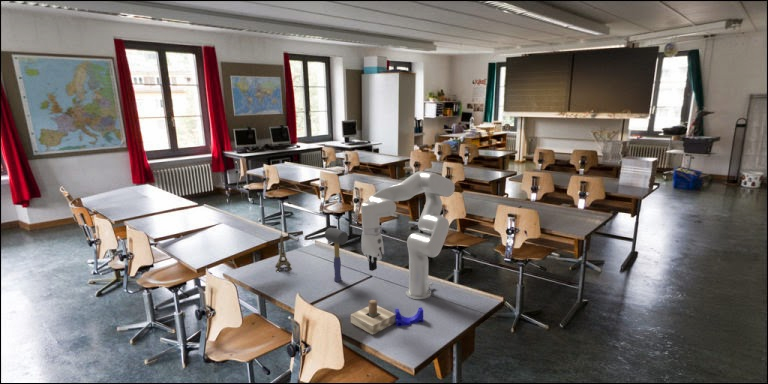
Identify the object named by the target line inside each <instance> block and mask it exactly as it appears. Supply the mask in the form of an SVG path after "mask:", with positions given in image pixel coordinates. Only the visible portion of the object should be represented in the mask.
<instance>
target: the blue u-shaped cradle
mask: <svg viewBox="0 0 768 384" xmlns="http://www.w3.org/2000/svg"><path fill="white" fill-rule="evenodd" d="M394 314H396V323H395V325H396V327H404V326H405V327H406V326H411V324H417V323H424V309H423V307H418V310H417V313H416V314H415V315H413V316H411V317H409V316H408V317H405V316H403V315H402V314H401V313H400V309H399V308H394ZM420 321H421V322H420Z"/></svg>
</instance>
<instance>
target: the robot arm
mask: <svg viewBox="0 0 768 384" xmlns="http://www.w3.org/2000/svg"><path fill="white" fill-rule="evenodd" d="M455 189H456V186H455V183H454V182H453V181H452V180H451V179H449V178H448V177H445V176H443V175H440V174H437V173H436V172H431V171H425V170H424V171H423V170H418V171H415V172H414V173H412V174H411V175H409V176H408V177H407V178H406V179H404V180H403V181H401V182H400V183H396V184H394V185H391V186H387V187H385V188H382V189H380V190H378V191H377V192H375V193H373V194H372V195H371V196H370V197H369V198H368V199H367V201H365V202H362V204H361V205H360V211H361V212H360V213H361V230H362V232H361V239H360V240H361V243H360V245H361V252H362V254H363V255H364V256H365V257H366V259H367V261H368V269H369V271H371V272H374V271H376V270H377V268H378V266H377V265H378V264H377V261H380V260H383V258H382V256H383V255H384V253H385V249H384V248H385V247H384V242H383V241H384V240H383V235H382V233H381V230H380V228H381V226H380V218H387V217H390V216H391V217H392V215H394V214H395V213H396V211H397V204H396V203H395V202H400V201H401V202H402V201H407V200H410V199H412V198H413V197H414V196H416V195H417V194H418V193H420V192H421V191H424V195H425V205H424V206H423V209H422V212H421V215H420V217H419V219H418V221H417V222H418V223H417V227H418V230H420V231H422V232H424V233H421V232H413V233H411V234H410V235H409V236H408V237H407V240H406V246H407V251H408V274H409V275H408V288H407V289H406V291H405V295H406V297H408V298H410V299H413V300H425V299H429V298H430V297H431V296H432V291H431V290H430V288H431V287H434V282H433V281H432V282H429V258H435V257H437V256H438V255H439V254H440V253H441V251H442V248H443V246H444V244H445V241H446V238H447V236H448V234H449V231H450V222H449V220H448V218H447V217H445V216H442V215H441V213H442V209H443V201H442V199H441V197H443V198H449V197H451V196H453V195H454V193H455ZM425 233H427V234H431V235H427V234H425ZM428 257H429V258H428Z"/></svg>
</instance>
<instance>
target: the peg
mask: <svg viewBox="0 0 768 384" xmlns="http://www.w3.org/2000/svg"><path fill="white" fill-rule="evenodd" d="M368 306H369V317H371V318H375V317H377V306H378V301H377V299H376V300H375V299H371V300H368Z"/></svg>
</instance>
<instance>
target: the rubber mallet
mask: <svg viewBox="0 0 768 384" xmlns="http://www.w3.org/2000/svg"><path fill="white" fill-rule="evenodd" d="M324 238H325V239H326V240H327V241H328V242H329V241H330V242H331V243H334V248H333V249H334V258H333V269H334V277H333V281H334V282H335V283H340V282H341V281H342V276H341V275H342V273H341V270H342V269H341V266H342V264H341V263H342V262H341V257H340V256H341V255H340V245H341V246H342V245H346V243H347V242H348V239H349V235H348V233H347V232H346V231H344V230H342V229H339V228H335V227H328V228H327V229H326V230H325V231H324Z"/></svg>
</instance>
